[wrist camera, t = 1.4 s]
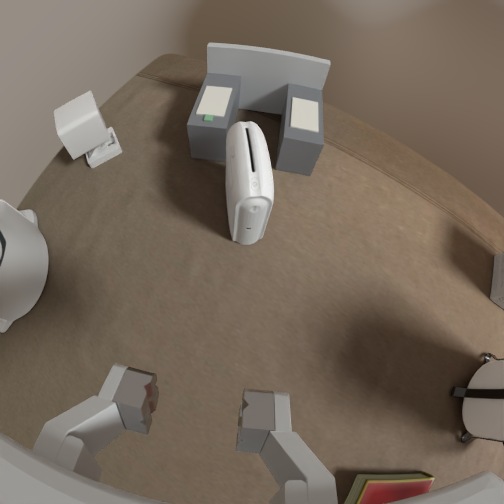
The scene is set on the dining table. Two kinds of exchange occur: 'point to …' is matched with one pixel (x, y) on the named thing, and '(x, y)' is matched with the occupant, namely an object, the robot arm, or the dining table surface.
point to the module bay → (261, 102)
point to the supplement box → (498, 280)
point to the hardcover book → (388, 488)
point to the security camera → (85, 130)
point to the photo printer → (248, 182)
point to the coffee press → (484, 402)
